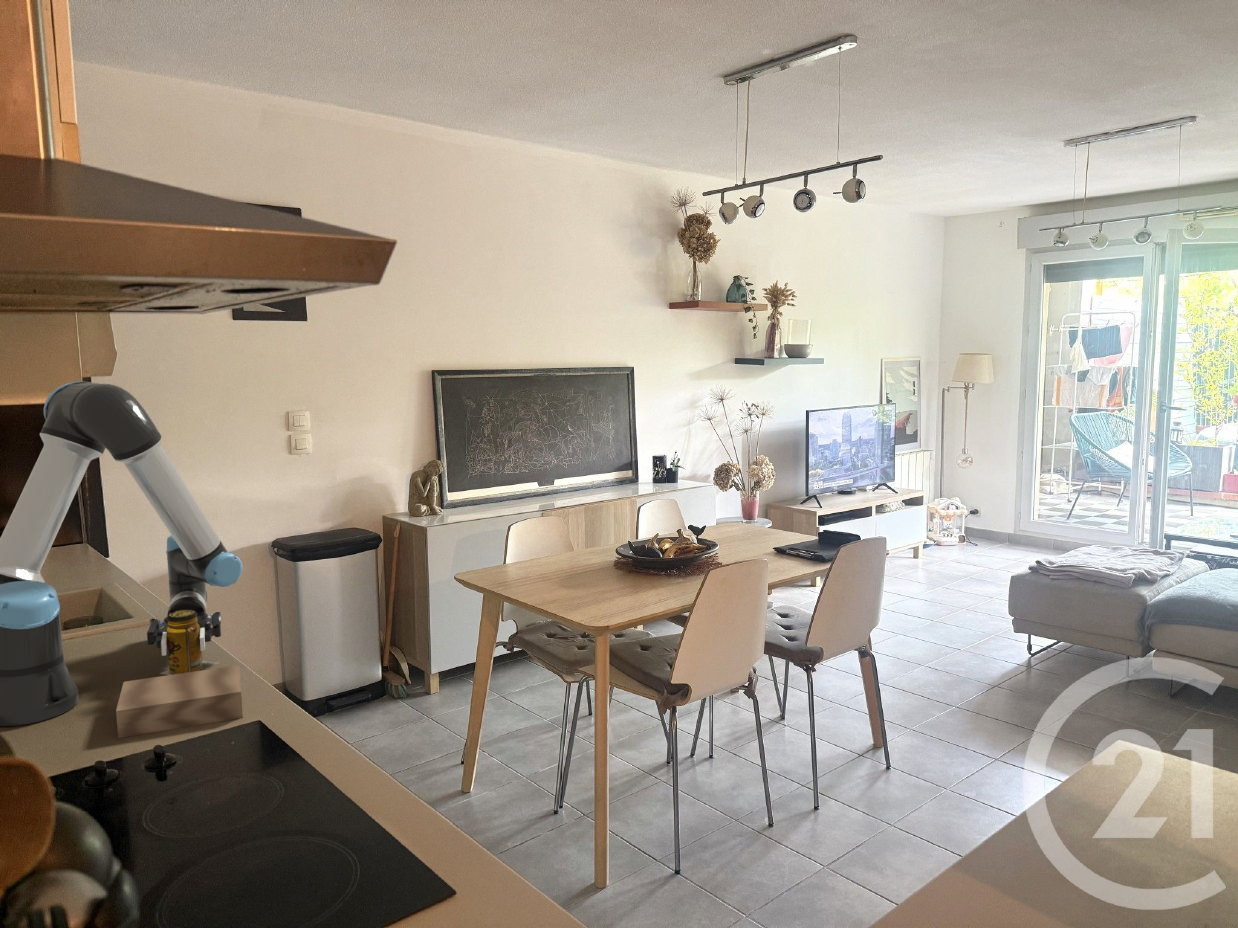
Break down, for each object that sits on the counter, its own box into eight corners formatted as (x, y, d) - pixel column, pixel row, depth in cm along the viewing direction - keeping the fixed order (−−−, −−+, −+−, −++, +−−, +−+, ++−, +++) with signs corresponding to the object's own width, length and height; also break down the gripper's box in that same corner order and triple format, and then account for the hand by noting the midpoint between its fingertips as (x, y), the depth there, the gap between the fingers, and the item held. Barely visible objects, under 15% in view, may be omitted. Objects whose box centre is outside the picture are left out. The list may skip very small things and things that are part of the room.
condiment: (158, 674, 173) (155, 616, 171) (191, 659, 181) (188, 603, 179) (188, 679, 171) (184, 620, 169) (220, 663, 179) (217, 607, 177)
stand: (118, 737, 152) (115, 710, 151) (125, 706, 164) (123, 681, 164) (242, 717, 160) (241, 691, 159) (240, 689, 173) (239, 665, 172)
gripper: (235, 623, 195) (237, 658, 174) (138, 634, 187) (128, 671, 167) (233, 591, 194) (235, 622, 173) (136, 600, 186) (126, 634, 165)
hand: (183, 646), depth 170 cm, fingers closed on condiment, 6 cm apart
